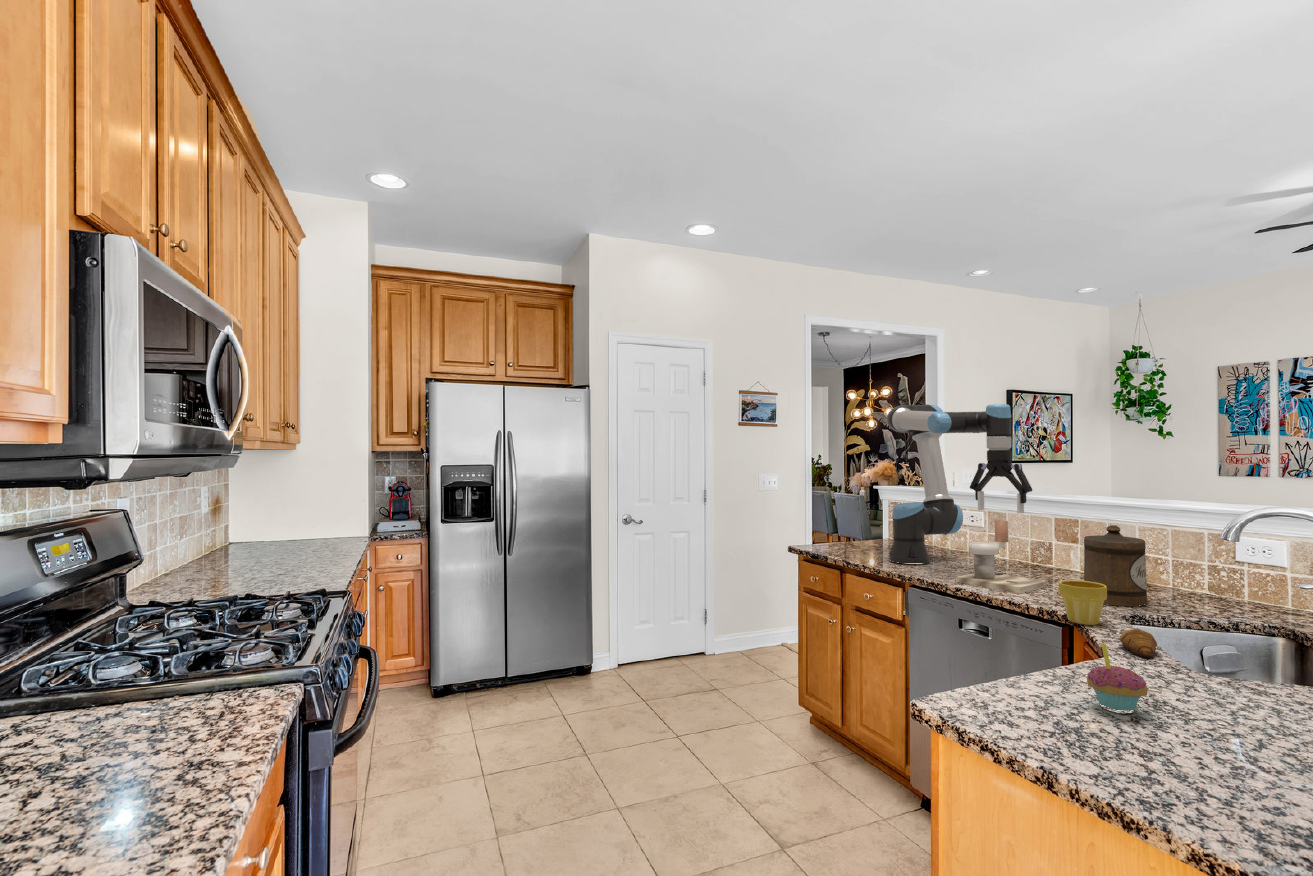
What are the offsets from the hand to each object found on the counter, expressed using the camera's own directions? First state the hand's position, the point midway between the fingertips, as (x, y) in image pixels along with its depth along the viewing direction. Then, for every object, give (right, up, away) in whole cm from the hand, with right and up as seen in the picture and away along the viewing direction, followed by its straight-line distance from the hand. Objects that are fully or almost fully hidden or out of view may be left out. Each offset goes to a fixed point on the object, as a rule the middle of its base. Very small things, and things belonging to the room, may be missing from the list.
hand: (1000, 511), depth 217 cm
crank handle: (-5, -13, -4) cm, 15 cm away
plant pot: (-7, -23, -53) cm, 58 cm away
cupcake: (-38, -22, -107) cm, 116 cm away
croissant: (-11, -22, -77) cm, 81 cm away
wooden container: (+16, -23, -32) cm, 43 cm away
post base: (-5, -23, -9) cm, 25 cm away
